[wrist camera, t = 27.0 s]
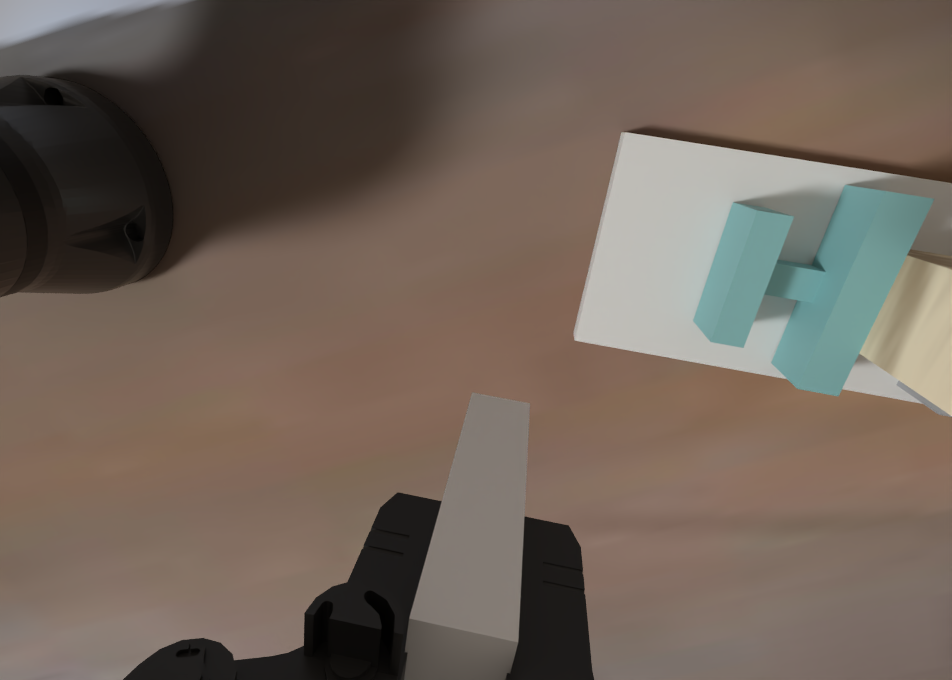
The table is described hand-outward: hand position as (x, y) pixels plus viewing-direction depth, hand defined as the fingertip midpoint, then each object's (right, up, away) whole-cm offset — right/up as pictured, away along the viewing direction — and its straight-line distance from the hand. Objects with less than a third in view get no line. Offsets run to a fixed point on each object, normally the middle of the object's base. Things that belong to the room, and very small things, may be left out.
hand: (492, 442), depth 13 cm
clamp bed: (+20, +7, +21) cm, 30 cm away
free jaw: (+19, +7, +19) cm, 28 cm away
